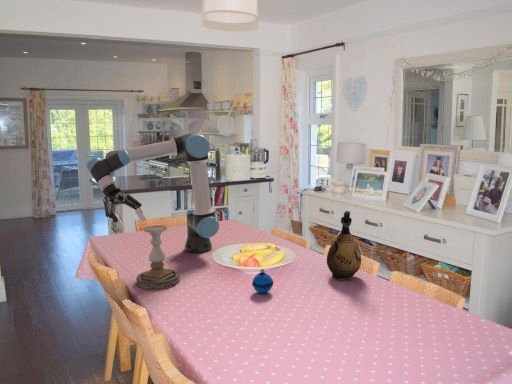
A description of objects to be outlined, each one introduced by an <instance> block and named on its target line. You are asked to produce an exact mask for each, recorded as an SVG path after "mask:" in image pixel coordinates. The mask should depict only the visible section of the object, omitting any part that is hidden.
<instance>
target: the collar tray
mask: <svg viewBox="0 0 512 384" xmlns="http://www.w3.org/2000/svg"><path fill="white" fill-rule="evenodd" d="M165 269H166V270H169V271H172V273H173V274H175V277H173V278H171V279H169V280H164V281H157V282H149V281H144V280H142V279H141V278H142V277H143V274H145V273H147V272H149V270H146V271H144V272H141V273H138V275H137V276H136V286H137V287H139V288H140V289H143V288H144V289H143V290H149V289H157V290H163V289H162V288H165V289H168V288H167V287H169V288H171V287H170V286H172V287H174V286H173V285H175V286H177V285H178V284H179V283H180V282H181V279H180V278H181V277H180V272H178V271H177V270H175V269H169V268H165ZM179 281H180V282H179ZM178 282H179V283H178ZM177 283H178V284H177ZM176 284H177V285H176Z"/></svg>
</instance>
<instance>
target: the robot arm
mask: <svg viewBox="0 0 512 384" xmlns="http://www.w3.org/2000/svg"><path fill="white" fill-rule="evenodd" d="M210 149H211V147H210V142H209V140H208V139H207V137H205V135H202V134H200V133H186V134H183V135H179V136H176V137H172V138H170V140H165V141H160V142H155V143H149V144H145V145H139V146H134V147H129V148H122V149H119V150H110V151H108V152H107V153H106V155H105V158H103V159H102V158H100V157H95V158H91V159H90V160H89V161H88V162H87V164H86V169H88V171H89V173H90V174H91V176H92V177H93V179H94V181H95V182H96V184H97V185H98V187H99V188H100V190H101V191H102V194H103V195H104V197H103V199H102V202H103V205H104V213H105V217H107V218H109V219H112V221H113V222H114V223H115V224H116V225H117V227H118V228H119V229H120V230H122V229H123V227H124V226H125V225H124V223H123V221H122V220H121V218H120V217H119V215H118V214H117V213H116V208H117V207H116V205H120V204H121V205H125V206H128V207H130V208H131V209H133V210H135V211H134V212H135V215H137V216H138V219H139V220H140V221H141V222H142V223H144V221H145V220H146V216H145V215H144V212H143V210H142V209H141V207H142V206H143V204H142V203H141V202H140V201H138V200H137V199H136V198H135V197H133V196H132V195H131V194H130V193H129V192H128V191H125V192H124V193H123V192H122V191H121V188H120V186H119V184H118V183H117V181H116V180H115V178H114V177H113V175H112V174H113V173H114V172H116V171H118V170H120V169H122V168H124V167H127V165H129V164H132V163H136V162H142V161H148V160H153V159H158V158H162V157H163V158H164V157H167V156H172V155H173V156H175V157H177V156H185V162H186V163H187V164H188V165H189V172H190V180H191V185H192V194H193V195H192V197H193V203H194V208H191V209H187V210H186V228H187V229H186V230H187V231H186V232H187V235H186V236H187V238H186V240H185V243H184V251H185V252H188V253H194V254H197V253H198V254H199V253H206V252H209V251H211V250H212V249H213V244H212V241H211V239H210V238H212V237H214V236H215V235H216V234H218V232H219V230H220V222H219V220H218V219H217V217H216V210H215V209H214V208H213V206H212V200H211V192H210V191H211V190H210V185H209V177H208V176H209V175H208V167H207V162H208V161H209V152H210Z"/></svg>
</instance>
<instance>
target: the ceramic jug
mask: <svg viewBox="0 0 512 384" xmlns="http://www.w3.org/2000/svg"><path fill="white" fill-rule="evenodd" d="M350 216H351V211H350V210H345V211H344V213H343V216H341V218H340V223H341V224H342V225H341V226H342V227H341V230H340V232H339V233H340V234H338V235H337V236H336V238H334V240H333V242H332V244H331V245H330V246H329V248H328V251H327V253H326V254H327V255H326V265H327V268H328V269H329V272H331V276H332V279H336V280H339V281H349V280H352V279H353V277H354V276H355V274H357V272H358V271H359V270H360V268H361V265H362V256H361V255H362V254H361V251H360V248H359V245H358V243H357V242H356V239H354V237H353V235H352V234H351V232H350V231H351V230H350V226H351V225H352V220H353V219H352V218H351V217H350Z"/></svg>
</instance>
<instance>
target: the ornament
mask: <svg viewBox="0 0 512 384" xmlns="http://www.w3.org/2000/svg"><path fill="white" fill-rule="evenodd" d="M251 284H252V287H253V288H254V290H255V291H256V292H258V293H260V294H265V293H266V294H267V293H268V292H269V291H271V289H272V287H273V286H274V280H273V278H272V277H271V275H269V274H268V273H266V272H265V269H261V270H260V272H259V273H257V274H256V275H255V276H254V277H253V279H252V283H251Z"/></svg>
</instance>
